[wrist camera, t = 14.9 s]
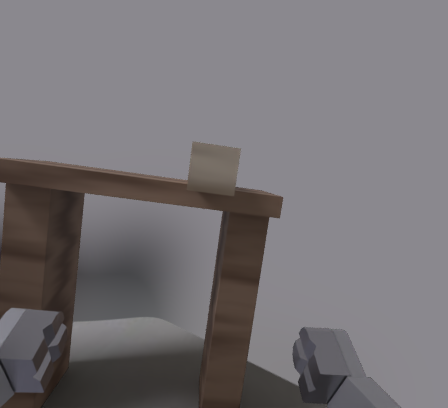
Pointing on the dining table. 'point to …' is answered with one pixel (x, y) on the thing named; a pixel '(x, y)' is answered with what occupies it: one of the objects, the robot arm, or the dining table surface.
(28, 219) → the walnut shelf
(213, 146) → the birch bar
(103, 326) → the dining table surface
